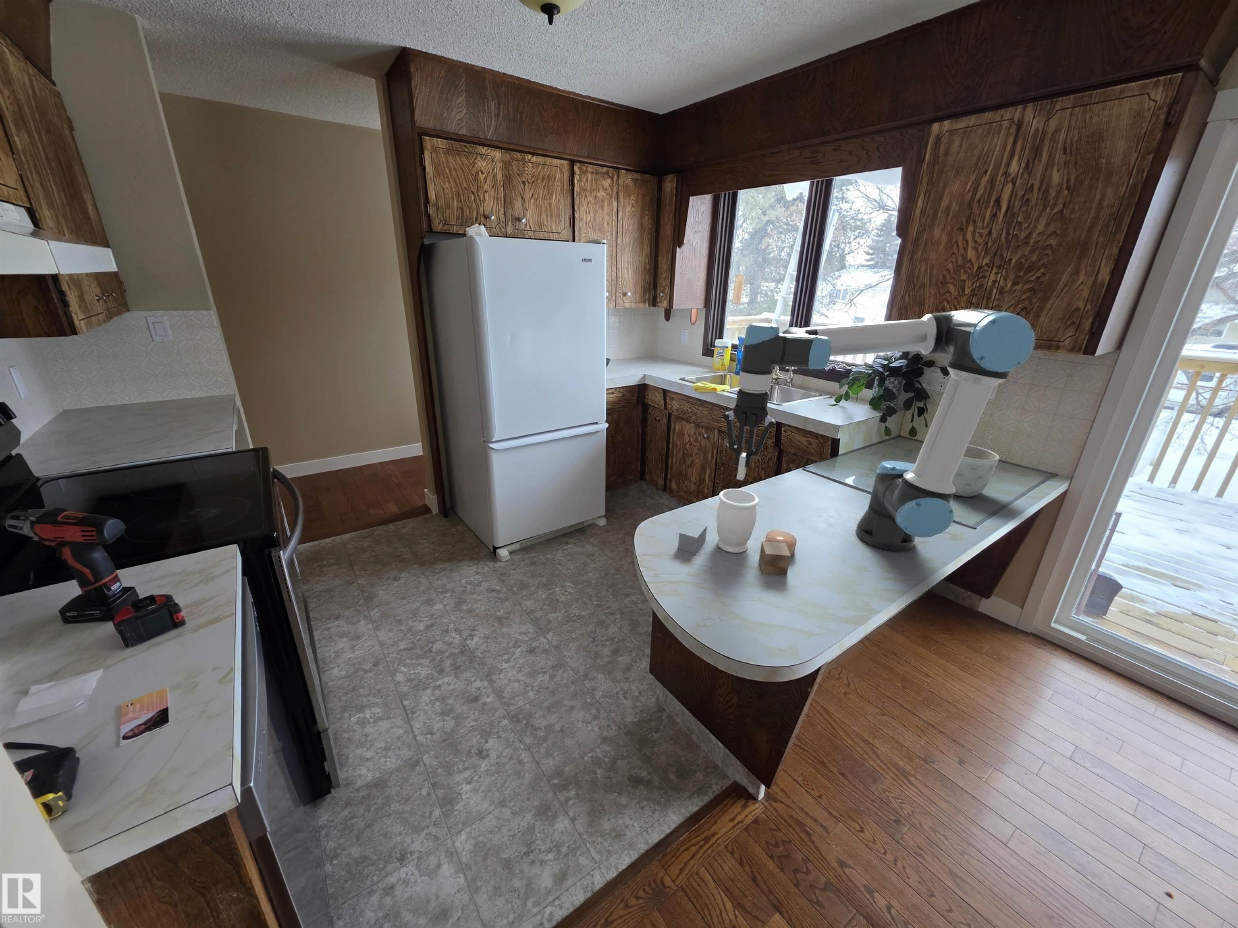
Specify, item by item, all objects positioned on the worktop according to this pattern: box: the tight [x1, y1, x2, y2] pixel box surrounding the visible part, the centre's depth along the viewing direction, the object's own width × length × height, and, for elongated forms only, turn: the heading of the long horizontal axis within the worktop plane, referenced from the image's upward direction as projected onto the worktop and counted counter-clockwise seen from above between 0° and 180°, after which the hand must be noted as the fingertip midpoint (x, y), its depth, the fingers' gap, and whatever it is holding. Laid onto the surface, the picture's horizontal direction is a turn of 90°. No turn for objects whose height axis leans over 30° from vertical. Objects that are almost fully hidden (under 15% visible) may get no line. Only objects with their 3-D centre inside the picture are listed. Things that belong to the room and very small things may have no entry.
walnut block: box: [758, 540, 792, 577], centre depth 127 cm, size 6×6×6 cm
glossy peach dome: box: [764, 530, 798, 558], centre depth 136 cm, size 8×8×4 cm
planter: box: [952, 444, 1000, 497], centre depth 175 cm, size 17×17×15 cm
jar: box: [716, 488, 759, 554], centre depth 135 cm, size 11×10×15 cm
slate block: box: [677, 520, 708, 554], centre depth 137 cm, size 5×8×5 cm, turn 151°
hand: (740, 477), depth 130 cm, fingers closed
